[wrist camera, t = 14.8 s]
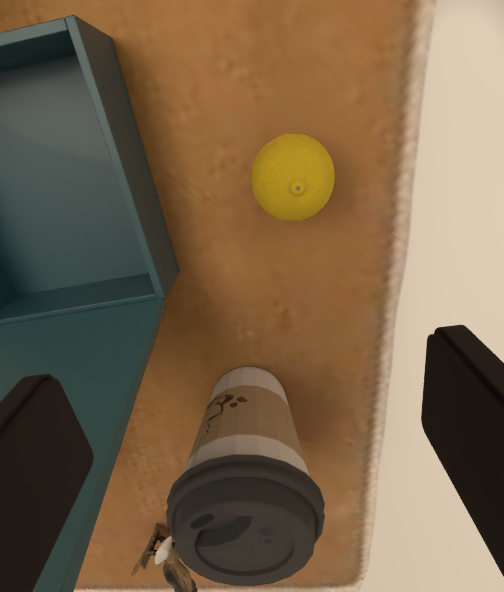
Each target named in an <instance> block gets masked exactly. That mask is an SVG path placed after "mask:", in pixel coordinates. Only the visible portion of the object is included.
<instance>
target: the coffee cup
mask: <svg viewBox="0 0 504 592" xmlns="http://www.w3.org/2000/svg"><path fill="white" fill-rule="evenodd" d="M167 504H168V508H167V511H166V514H167V522H168V530H169V532H170V533H171V535H172V536H173V538H174V540H175V544H176V552H177V553H178V555H179V556H180V558H181V559H182V561H183V562H184V564H185V565H186V566H188V567H189V568H190V569H192V570H193V571H194V572H196V573H197V574H198V575H200V576H203V577H205V578H208V579H210V580H212V581H215V582H219V583H224V584H229V585H234V586H257V585H263V584H270V583H274V582H277V581H280V580H282V579H285V578H288V577H290V576H291V575H293V574H294V573H296V572H297V571H299V570H300V569H302V568H303V567H304V566H305V565H306V563H307V562H308V561H309V559H310V558H311V556H312V555H313V550H314V544H315V543H316V541H317V540H318V538H319V537H320V535H321V534H322V529H323V523H324V517H325V515H324V512H323V511H324V505H325V503H324V500H323V497H322V494H321V491H320V488H319V487H318V486H317V485H316V483H315V482H314V481H313V480H312V479H311V478H310V477H309V473H308V470H307V467H306V463H305V460H304V456H303V453H302V450H301V446H300V443H299V439H298V436H297V433H296V429H295V426H294V422H293V419H292V416H291V412H290V409H289V405H288V402H287V399H286V395H285V392H284V389H283V387H282V386H281V385H280V382H279V381H278V380H277V379H276V377H275V376H274V375H272V374H271V373H269V372H268V371H266V370H264V369H260V368H257V367H240V368H236V369H233V370H231V371H229V372H228V373H226V374H224V375H223V376H222V378H221V379H220V380H219V381H218V383H217V384H216V385H215V387H214V390H213V392H212V395H211V398H210V400H209V403H208V406H207V409H206V412H205V415H204V417H203V420H202V423H201V426H200V429H199V431H198V434H197V437H196V440H195V443H194V446H193V448H192V451H191V454H190V457H189V460H188V463H187V465H186V468H185V471H184V474H183V475H182V476H181V477H180V478H179V479H178V480H177V481H176V482H175V483H174V484H173V486H172V488H171V491H170V493H169V496H168V499H167Z"/></svg>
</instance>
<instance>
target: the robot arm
mask: <svg viewBox="0 0 504 592" xmlns="http://www.w3.org/2000/svg"><path fill="white" fill-rule="evenodd" d="M421 420H422V426H423V429H424V432H425V434H426V436H427V438H428V439H429V441H430V443H431V445H432V447H433V448H434V450H435V452H436V454H437V456H438V458H439V460H440V461H441V463H442V465H443V467H444V469H445V470H446V472H447V474H448V476H449V478H450V480H451V481H452V483H453V485H454V487H455V489H456V491H457V492H458V494H459V496H460V498H461V500H462V501H463V503H464V505H465V507H466V509H467V511H468V513H469V514H470V516H471V518H472V520H473V522H474V523H475V525H476V527H477V529H478V531H479V533H480V534H481V536H482V538H483V540H484V542H485V544H486V545H487V547H488V549H489V551H490V553H491V555H492V556H493V558H494V560H495V562H496V564H497V565H498V567H499V569H500V571H501V573H502V574H503V576H504V363H503V362H502V361H501V360H500V359H499V358H498V357H497V356H496V355H495V354H494V353H493V352H492V351H491V350H490V349H489V348H487V346H485V345H484V344H483V343H482V342H481V341H480V340H479V339H478V338H477V337H476V336H475V335H474V334H473V333H472V332H471V331H470V330H469V329H468V328H467V327H466V326H464V325H455V326H447V327H439V328H437V329H436V330H435V332H434V334H431V335H429V336H428V339H427V350H426V363H425V375H424V388H423V402H422V415H421ZM93 459H94V455H93V451H92V448H91V446H90V444H89V442H88V440H87V438H86V436H85V434H84V432H83V429H82V427H81V425H80V423H79V421H78V419H77V417H76V415H75V413H74V410H73V408H72V406H71V404H70V402H69V400H68V398H67V396H66V394H65V391H64V389H63V387H62V385H61V383H60V382H59V380H57V379H54V378H53V376H51V375H50V374H41V375H33V376H26V377H23V378H22V379H21V380H20V381H19V382H18V383H17V384H16V385H15V386H14V387H13V388H12V389H11V391H10V392H9V393H8V394H7V395H6V396H5V397H4V398H3V399H2V400H1V402H0V592H33V590H34V587H35V585H36V583H37V581H38V579H39V577H40V575H41V573H42V571H43V568H44V566H45V564H46V562H47V560H48V558H49V556H50V554H51V552H52V549H53V547H54V545H55V543H56V541H57V539H58V537H59V535H60V533H61V530H62V528H63V526H64V524H65V522H66V520H67V518H68V516H69V514H70V511H71V509H72V507H73V505H74V503H75V501H76V499H77V497H78V495H79V492H80V490H81V488H82V486H83V484H84V482H85V480H86V478H87V476H88V473H89V471H90V469H91V467H92V464H93Z"/></svg>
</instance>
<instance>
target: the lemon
mask: <svg viewBox="0 0 504 592" xmlns="http://www.w3.org/2000/svg"><path fill="white" fill-rule="evenodd" d="M334 182H335V172H334V166H333V162H332V159H331V157H330V155H329V154H328V152H327V150H326V149H325V147H323V146H322V145H321V144H320V143H319V142H318V141H317V140H315V139H313V138H311V137H309V136H307V135H303V134H298V133H292V134H284V135H281V136H278V137H276V138H274V139H272V140H271V141H270V142H268V143H267V144H265V146H264V147H263V148H262V149H261V150H260V151H259V153H258V155H257V157H256V159H255V161H254V163H253V167H252V172H251V185H252V189H253V193H254V196H255V198H256V200H257V201H258V203H259V205H260V206H261V207H262V208H263V209H264V210H265V211H266V212H267V213H268V214H270V215H272V216H273V217H275V218H277V219H281V220H284V221H300V220H305V219H307V218H309V217H311V216H313V215H315V214H316V213H317V212H318V211H320V210H321V209H322V208H323V207H324V205H325V204H326V203H327V202H328V200H329V198H330V196H331V193H332V191H333V187H334Z"/></svg>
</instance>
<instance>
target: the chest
mask: <svg viewBox="0 0 504 592" xmlns="http://www.w3.org/2000/svg"><path fill="white" fill-rule="evenodd" d="M179 272H180V271H179V267H178V264H177V261H176V257H175V254H174V250H173V247H172V243H171V240H170V236H169V233H168V230H167V226H166V223H165V219H164V216H163V212H162V209H161V205H160V202H159V198H158V195H157V192H156V188H155V185H154V181H153V178H152V174H151V171H150V167H149V164H148V161H147V157H146V154H145V150H144V147H143V143H142V140H141V136H140V133H139V129H138V126H137V123H136V119H135V116H134V112H133V109H132V105H131V102H130V98H129V95H128V92H127V88H126V85H125V81H124V78H123V74H122V71H121V67H120V64H119V60H118V57H117V54H116V50H115V47H114V43H113V40H112V38H111V37H110V36H108V35H106V34H105V33H103V32H101V31H100V30H98V29H96V28H95V27H93V26H91V25H90V24H88V23H86V22H85V21H83V20H82V19H80V18H78V17H77V16H75V15H72V16H68V17H65V18H59V19H55V20H51V21H47V22H43V23H39V24H35V25H30V26H26V27H22V28H18V29H14V30H10V31H6V32H1V33H0V325H6V324H12V323H18V322H24V321H30V320H36V319H42V318H48V317H54V316H60V315H67V314H73V313H79V312H85V311H91V310H97V309H103V308H109V307H115V306H121V305H127V304H133V303H139V302H145V301H151V300H157V299H162V300H165V299H166V297H167V295H168V293H169V291H170V289H171V287H172V286H173V284H174V282H175V280H176V278H177V276H178V274H179Z"/></svg>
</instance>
